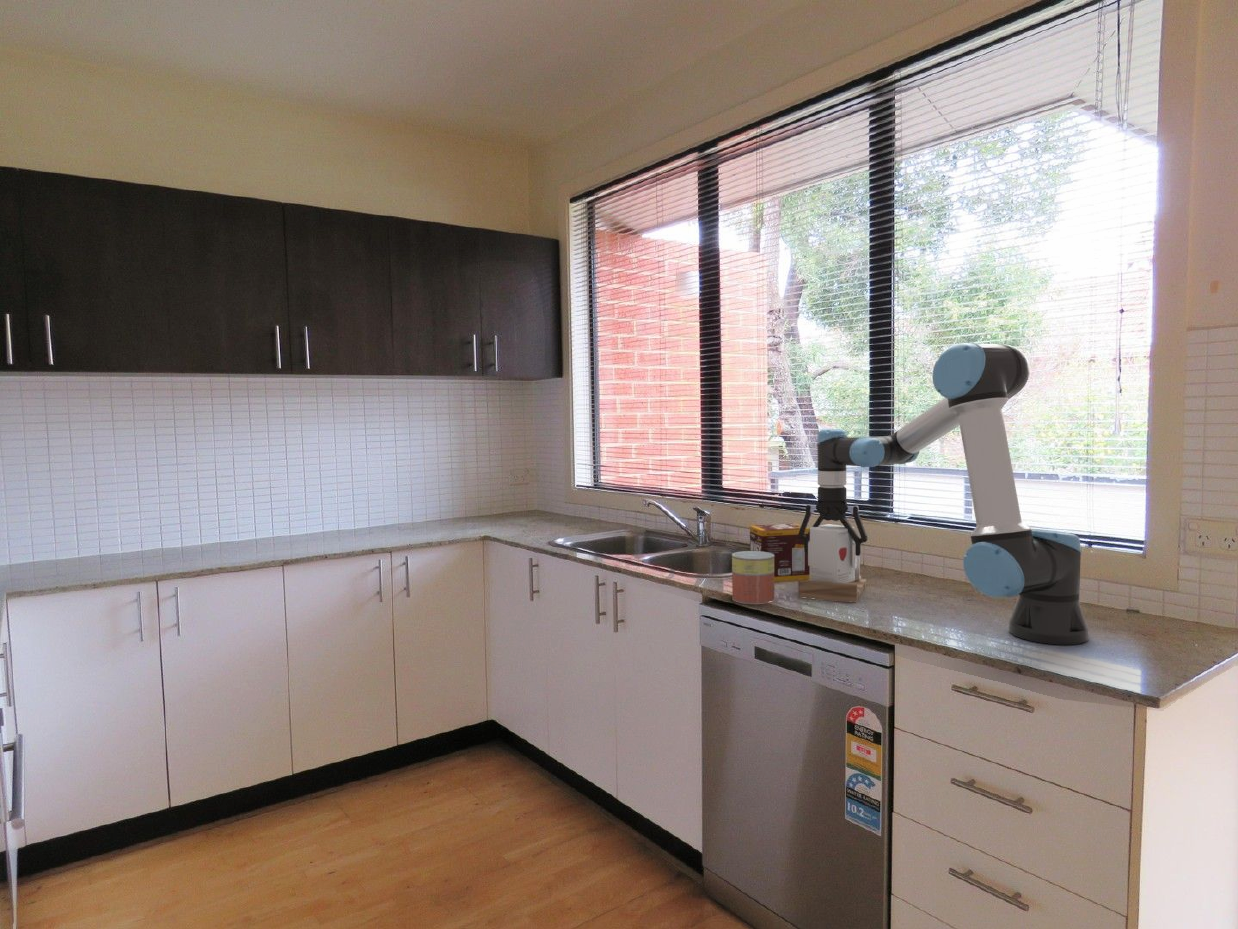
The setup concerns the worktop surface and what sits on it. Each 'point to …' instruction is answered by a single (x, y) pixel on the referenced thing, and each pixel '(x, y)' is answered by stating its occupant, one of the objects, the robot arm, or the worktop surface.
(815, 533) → the supplement box
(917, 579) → the worktop surface
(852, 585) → the shelf board
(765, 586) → the canned food
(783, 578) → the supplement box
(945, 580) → the worktop surface
